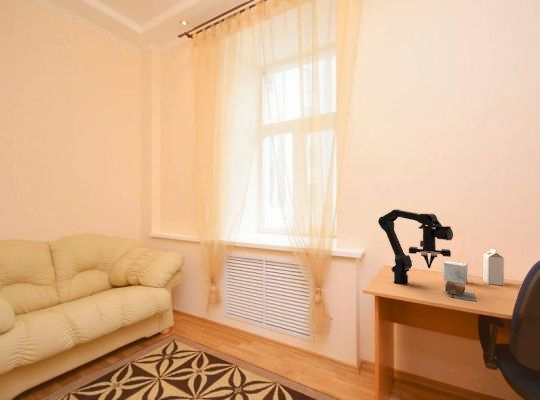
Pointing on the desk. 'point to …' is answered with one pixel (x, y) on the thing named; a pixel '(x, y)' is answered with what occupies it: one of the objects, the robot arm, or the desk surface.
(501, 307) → the desk surface
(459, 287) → the wooden block
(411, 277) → the desk surface
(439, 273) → the desk surface
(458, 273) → the skincare box
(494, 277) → the milk carton
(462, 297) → the rubber mat
